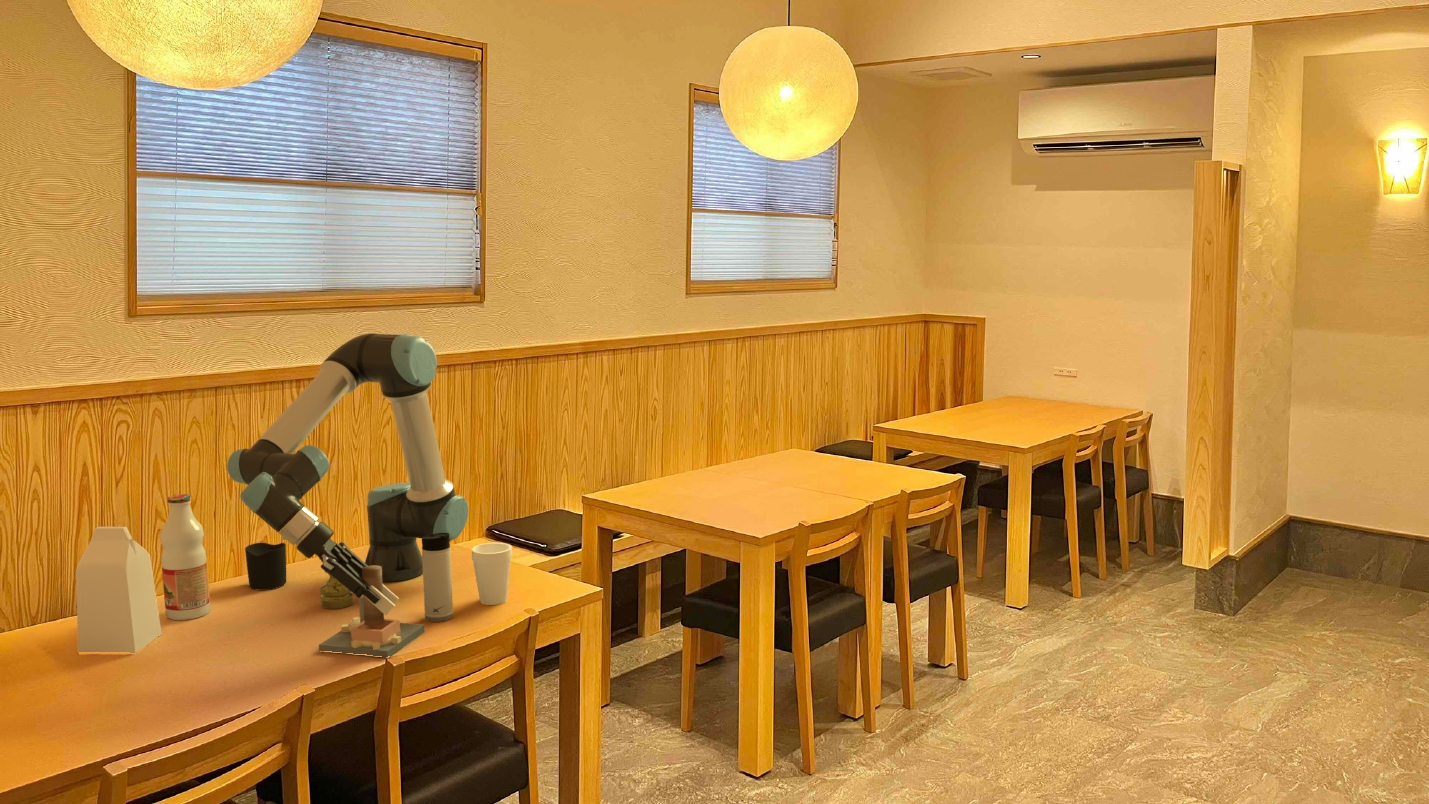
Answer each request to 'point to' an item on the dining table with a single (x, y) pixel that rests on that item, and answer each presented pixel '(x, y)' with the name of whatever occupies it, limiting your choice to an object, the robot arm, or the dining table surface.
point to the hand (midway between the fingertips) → (392, 606)
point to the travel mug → (437, 577)
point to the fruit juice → (184, 562)
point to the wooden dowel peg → (370, 611)
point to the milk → (115, 594)
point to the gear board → (372, 636)
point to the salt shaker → (335, 594)
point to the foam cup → (492, 571)
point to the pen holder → (266, 565)
